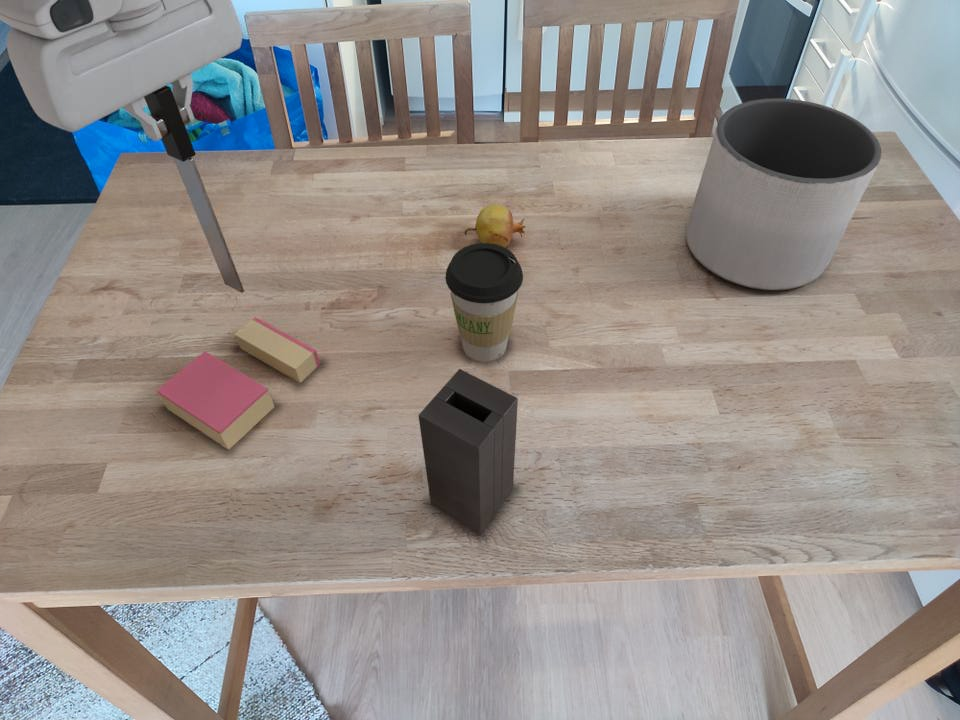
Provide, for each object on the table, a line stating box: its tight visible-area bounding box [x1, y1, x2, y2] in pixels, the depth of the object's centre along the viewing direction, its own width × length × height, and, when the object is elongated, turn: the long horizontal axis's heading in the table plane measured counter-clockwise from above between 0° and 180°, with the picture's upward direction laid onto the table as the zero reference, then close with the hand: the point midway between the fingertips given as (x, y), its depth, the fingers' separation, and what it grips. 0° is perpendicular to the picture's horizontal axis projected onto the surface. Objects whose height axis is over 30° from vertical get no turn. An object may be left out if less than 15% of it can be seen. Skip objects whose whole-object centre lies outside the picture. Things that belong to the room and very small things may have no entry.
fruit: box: [463, 204, 527, 248], centre depth 105 cm, size 7×7×10 cm
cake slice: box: [234, 316, 321, 384], centre depth 91 cm, size 3×12×4 cm
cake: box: [155, 350, 275, 450], centre depth 85 cm, size 8×12×4 cm
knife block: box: [417, 368, 519, 536], centre depth 71 cm, size 7×7×18 cm
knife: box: [144, 85, 245, 294], centre depth 70 cm, size 2×3×25 cm, turn 56°
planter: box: [685, 97, 882, 291], centre depth 98 cm, size 22×22×20 cm
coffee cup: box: [444, 242, 524, 363], centre depth 87 cm, size 10×10×15 cm
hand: (171, 129), depth 64 cm, fingers closed on knife, 2 cm apart
